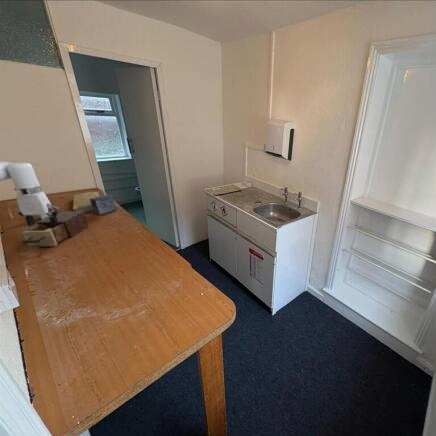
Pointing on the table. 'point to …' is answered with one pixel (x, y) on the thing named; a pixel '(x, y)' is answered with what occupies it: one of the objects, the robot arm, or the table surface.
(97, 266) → the table surface
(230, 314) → the table surface
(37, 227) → the drawer
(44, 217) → the medicine box
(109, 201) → the small box
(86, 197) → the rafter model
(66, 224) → the cabinet
